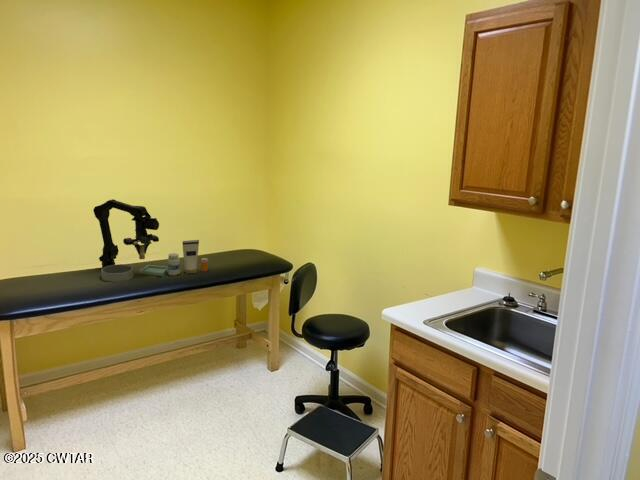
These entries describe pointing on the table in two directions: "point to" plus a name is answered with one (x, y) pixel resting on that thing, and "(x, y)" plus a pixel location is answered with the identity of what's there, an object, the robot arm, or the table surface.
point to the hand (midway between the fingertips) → (141, 254)
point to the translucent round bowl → (117, 273)
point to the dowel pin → (141, 252)
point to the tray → (154, 270)
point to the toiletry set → (186, 259)
